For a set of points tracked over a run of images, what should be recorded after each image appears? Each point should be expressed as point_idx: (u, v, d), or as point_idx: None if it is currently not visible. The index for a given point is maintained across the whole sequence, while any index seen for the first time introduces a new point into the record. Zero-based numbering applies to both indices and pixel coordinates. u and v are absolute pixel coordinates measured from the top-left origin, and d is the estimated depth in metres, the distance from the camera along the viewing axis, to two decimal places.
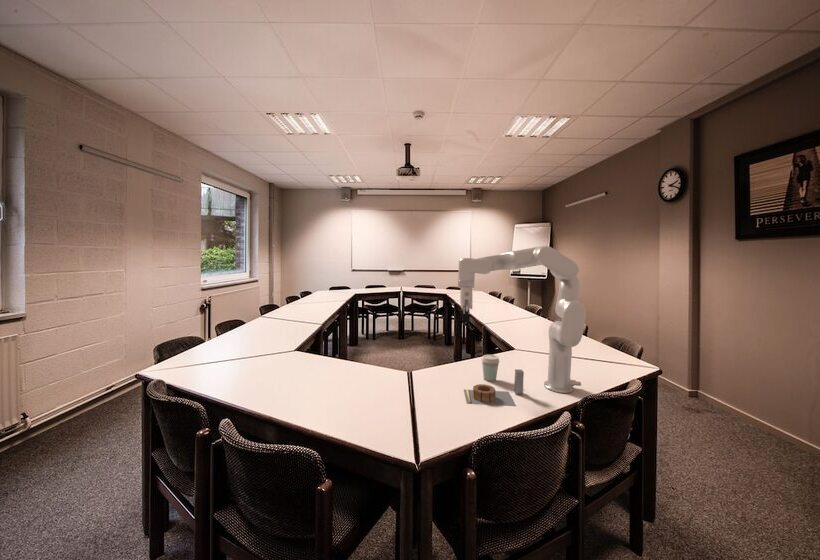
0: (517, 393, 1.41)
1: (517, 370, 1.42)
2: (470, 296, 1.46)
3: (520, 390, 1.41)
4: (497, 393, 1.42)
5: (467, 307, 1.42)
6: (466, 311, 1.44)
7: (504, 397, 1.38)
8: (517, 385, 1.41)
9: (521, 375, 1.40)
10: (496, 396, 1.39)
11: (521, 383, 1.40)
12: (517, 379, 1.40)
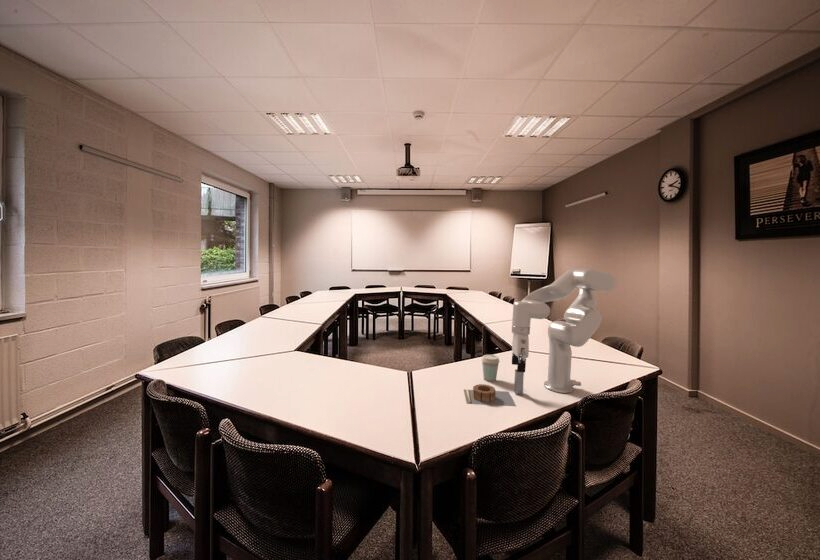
0: (517, 393, 1.41)
1: None
2: (526, 344, 1.35)
3: (520, 390, 1.41)
4: (497, 393, 1.42)
5: (524, 357, 1.32)
6: (522, 360, 1.34)
7: (504, 397, 1.38)
8: (517, 385, 1.41)
9: (521, 375, 1.40)
10: (496, 396, 1.39)
11: (521, 383, 1.40)
12: (517, 379, 1.40)
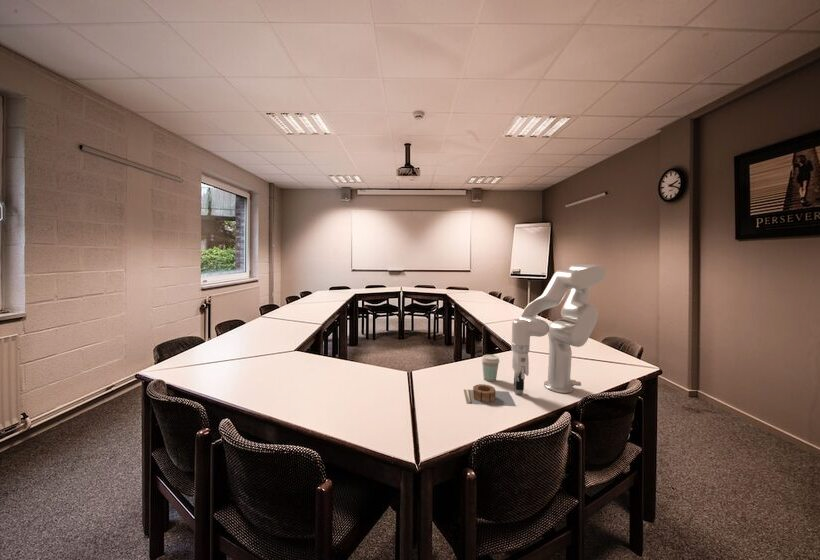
0: (517, 393, 1.41)
1: None
2: (526, 362, 1.36)
3: (520, 390, 1.41)
4: (497, 393, 1.42)
5: (523, 379, 1.36)
6: (521, 379, 1.38)
7: (504, 397, 1.38)
8: None
9: None
10: (496, 396, 1.39)
11: None
12: None
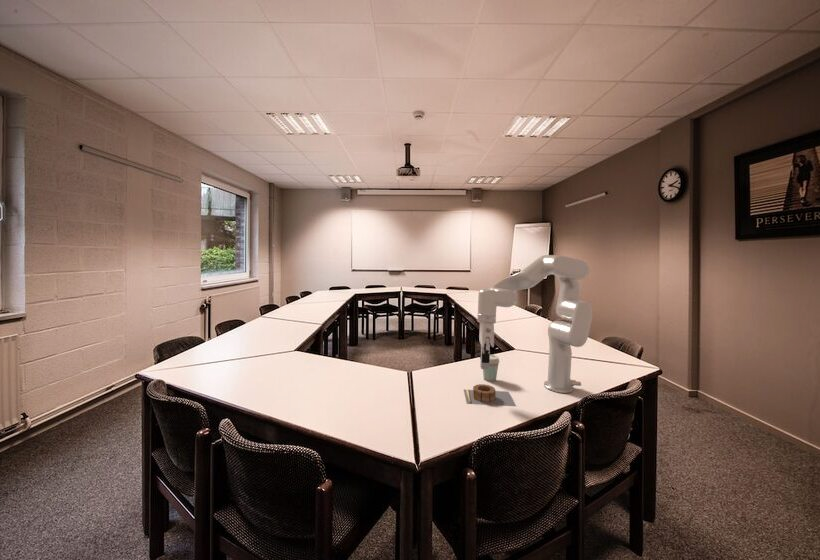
0: (483, 366, 1.35)
1: None
2: (492, 333, 1.30)
3: (485, 363, 1.35)
4: (497, 393, 1.42)
5: (487, 350, 1.30)
6: (486, 351, 1.32)
7: (504, 397, 1.38)
8: None
9: None
10: (496, 396, 1.39)
11: None
12: None
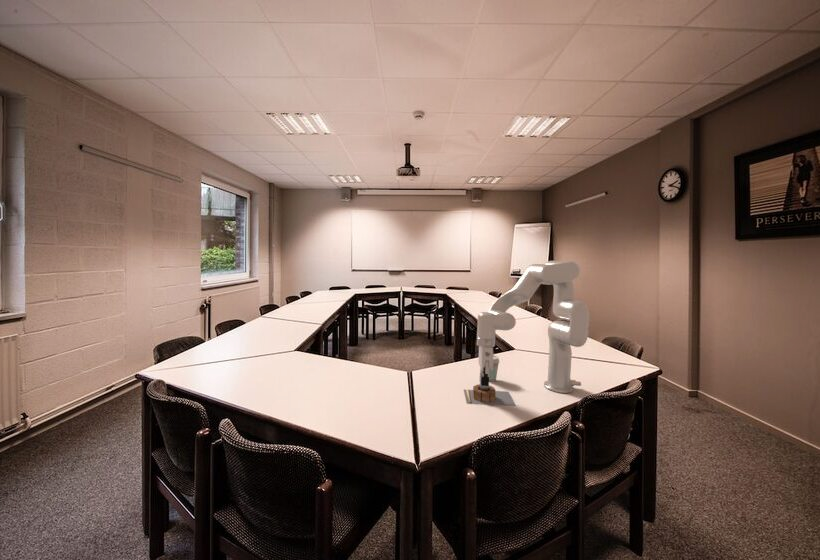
0: (482, 389, 1.36)
1: None
2: (491, 357, 1.31)
3: None
4: (497, 393, 1.42)
5: (487, 374, 1.31)
6: (485, 374, 1.32)
7: (504, 397, 1.38)
8: None
9: None
10: (496, 396, 1.39)
11: None
12: None
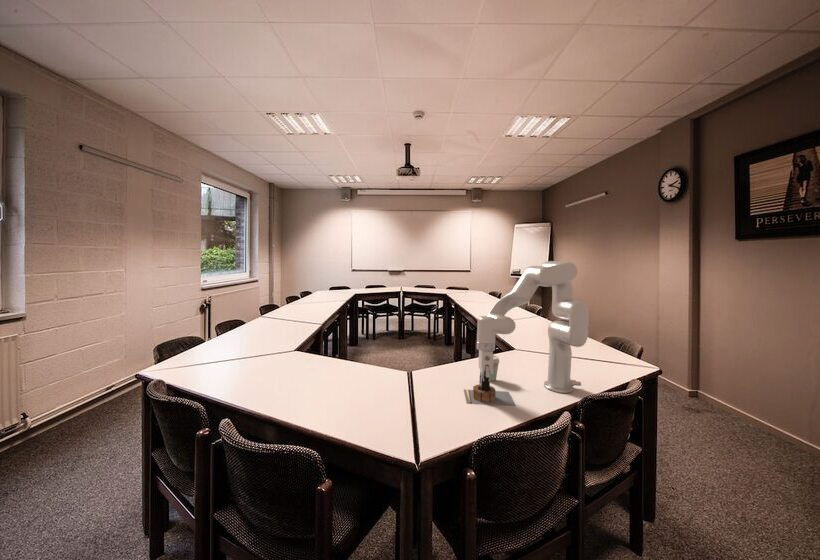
0: None
1: None
2: (491, 361, 1.31)
3: None
4: (497, 393, 1.42)
5: (487, 377, 1.30)
6: (486, 379, 1.31)
7: (504, 397, 1.38)
8: None
9: None
10: (496, 396, 1.39)
11: None
12: None
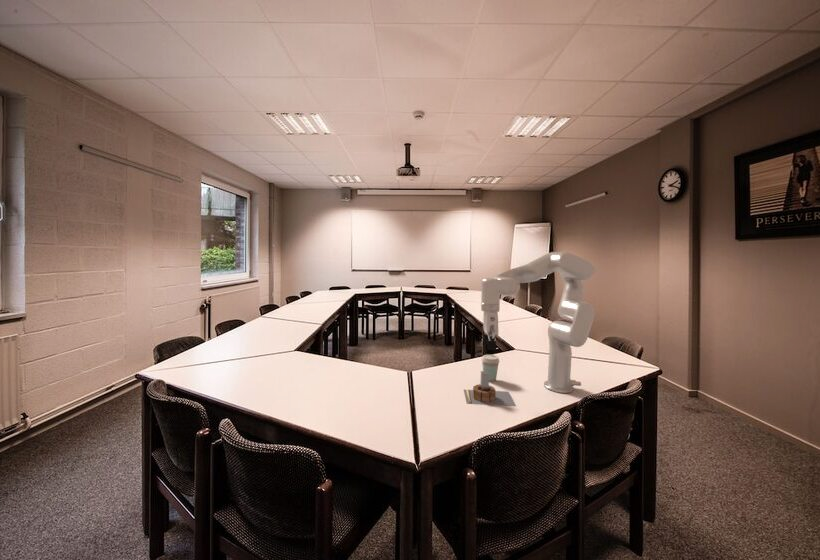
0: None
1: (482, 372, 1.37)
2: (496, 321, 1.31)
3: None
4: (497, 393, 1.42)
5: (493, 334, 1.28)
6: (492, 338, 1.30)
7: (504, 397, 1.38)
8: (482, 387, 1.36)
9: (486, 377, 1.35)
10: (496, 396, 1.39)
11: (486, 385, 1.36)
12: (482, 381, 1.36)
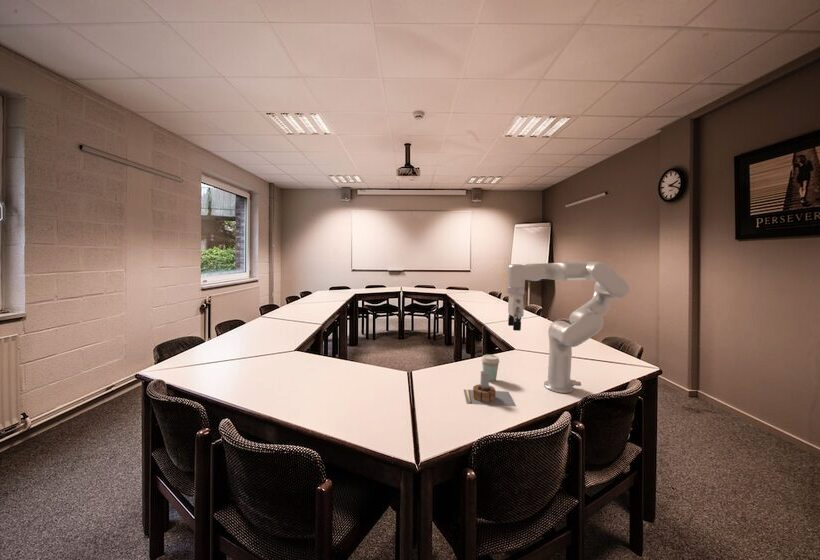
0: None
1: (482, 372, 1.37)
2: (521, 303, 1.42)
3: None
4: (497, 393, 1.42)
5: (519, 315, 1.39)
6: (518, 319, 1.41)
7: (504, 397, 1.38)
8: (482, 387, 1.36)
9: (486, 377, 1.35)
10: (496, 396, 1.39)
11: (486, 385, 1.36)
12: (482, 381, 1.36)
